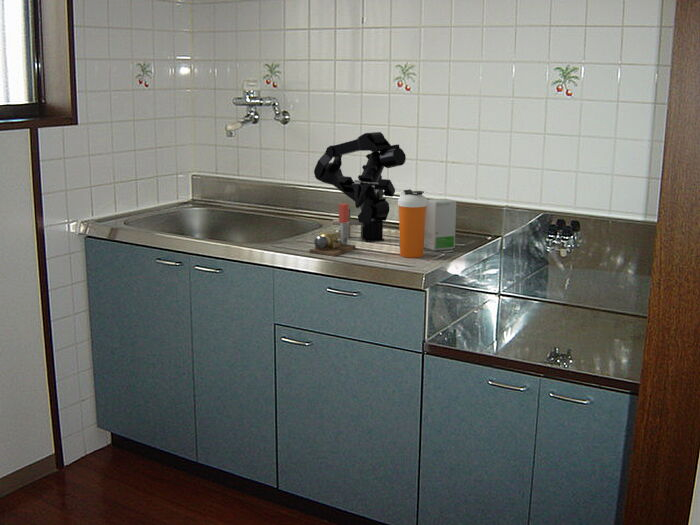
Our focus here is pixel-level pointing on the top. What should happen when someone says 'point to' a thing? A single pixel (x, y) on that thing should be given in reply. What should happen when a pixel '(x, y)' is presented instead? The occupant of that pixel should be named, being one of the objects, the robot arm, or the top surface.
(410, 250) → the shaker bottle
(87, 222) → the top surface
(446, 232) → the skincare box
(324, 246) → the valve stand
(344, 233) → the valve lever
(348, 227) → the pipe connector
